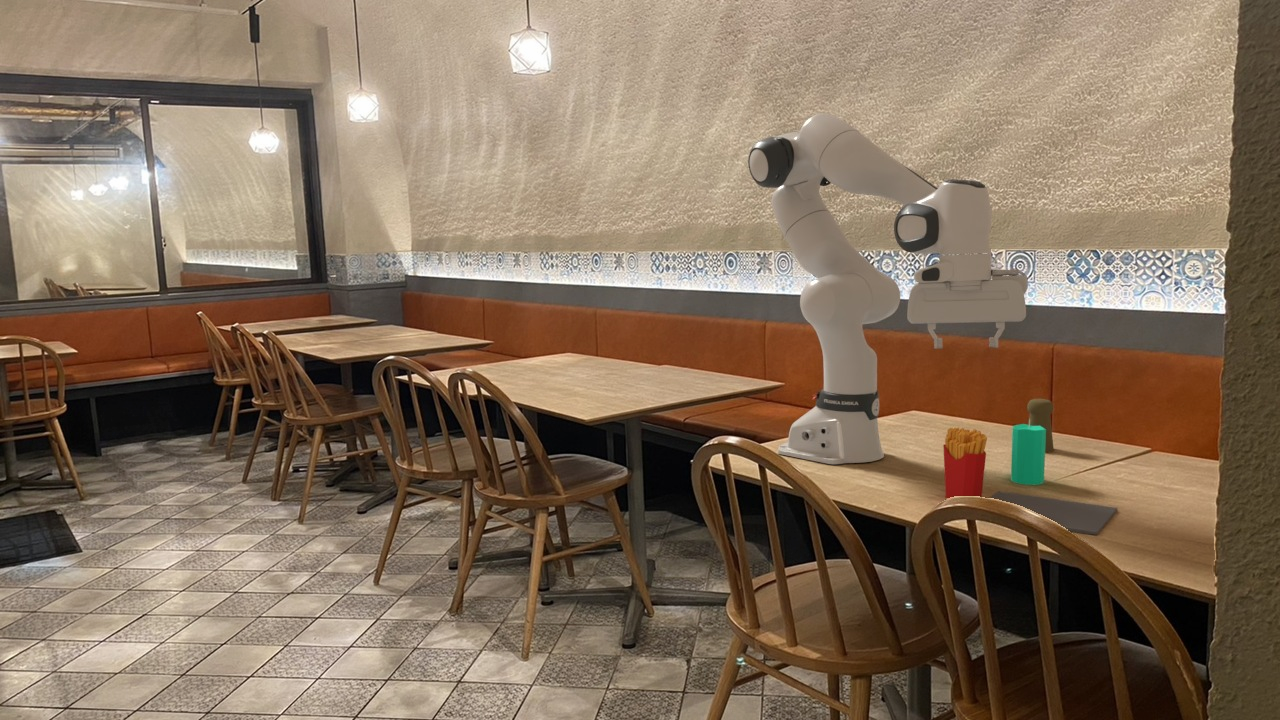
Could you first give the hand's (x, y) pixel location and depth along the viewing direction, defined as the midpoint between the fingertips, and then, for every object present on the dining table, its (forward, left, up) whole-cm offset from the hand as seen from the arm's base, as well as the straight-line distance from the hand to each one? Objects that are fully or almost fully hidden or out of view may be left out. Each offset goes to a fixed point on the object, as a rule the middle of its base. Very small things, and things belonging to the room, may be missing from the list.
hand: (965, 348), depth 178 cm
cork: (+2, +44, -27) cm, 51 cm away
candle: (+7, +16, -27) cm, 32 cm away
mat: (+15, -4, -27) cm, 31 cm away
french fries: (+2, -4, -27) cm, 28 cm away
